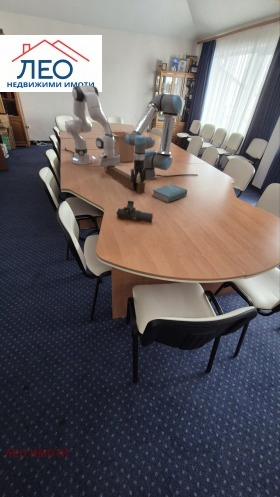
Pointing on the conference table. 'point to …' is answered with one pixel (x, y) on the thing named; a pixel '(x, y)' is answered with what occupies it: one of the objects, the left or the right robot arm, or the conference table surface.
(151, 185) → the conference table surface
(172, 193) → the book
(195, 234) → the conference table surface
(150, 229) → the conference table surface
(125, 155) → the box
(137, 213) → the laser sight
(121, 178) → the bar
